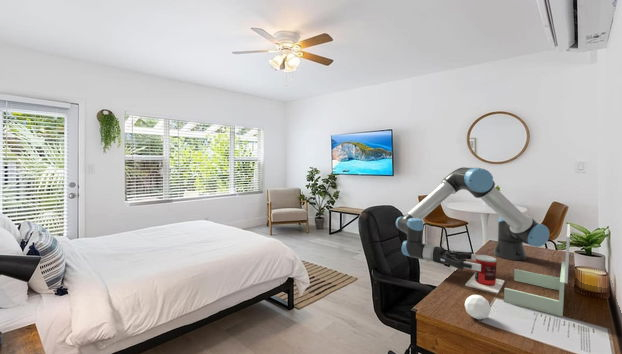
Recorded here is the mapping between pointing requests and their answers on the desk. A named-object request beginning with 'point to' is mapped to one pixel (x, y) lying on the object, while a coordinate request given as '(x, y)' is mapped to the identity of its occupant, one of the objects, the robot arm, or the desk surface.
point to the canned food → (486, 270)
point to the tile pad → (492, 289)
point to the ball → (477, 306)
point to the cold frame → (543, 281)
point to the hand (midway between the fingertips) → (484, 263)
